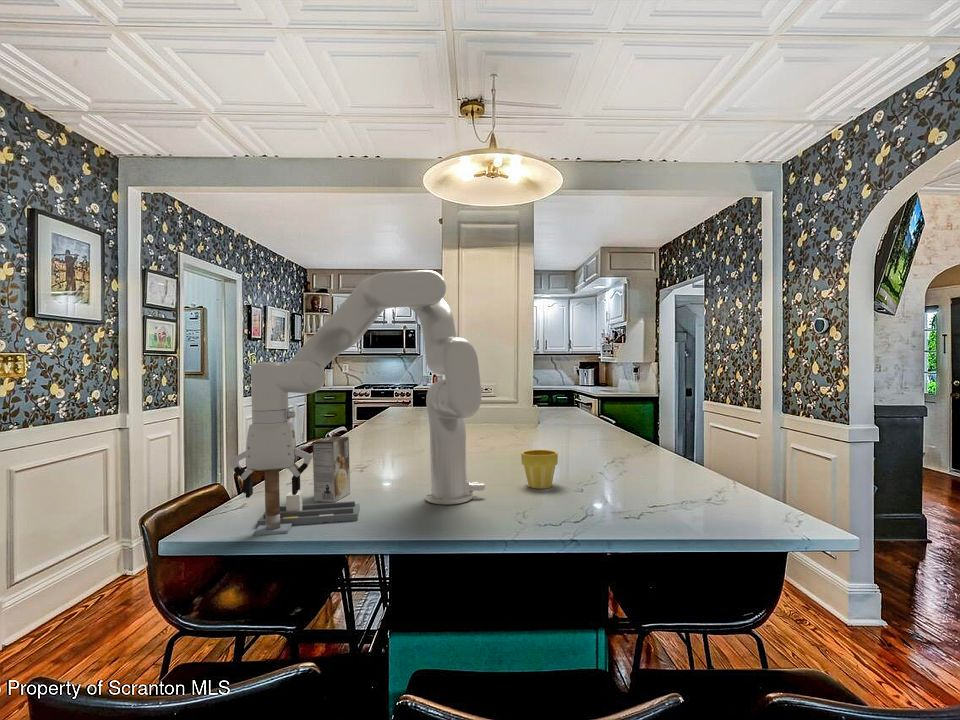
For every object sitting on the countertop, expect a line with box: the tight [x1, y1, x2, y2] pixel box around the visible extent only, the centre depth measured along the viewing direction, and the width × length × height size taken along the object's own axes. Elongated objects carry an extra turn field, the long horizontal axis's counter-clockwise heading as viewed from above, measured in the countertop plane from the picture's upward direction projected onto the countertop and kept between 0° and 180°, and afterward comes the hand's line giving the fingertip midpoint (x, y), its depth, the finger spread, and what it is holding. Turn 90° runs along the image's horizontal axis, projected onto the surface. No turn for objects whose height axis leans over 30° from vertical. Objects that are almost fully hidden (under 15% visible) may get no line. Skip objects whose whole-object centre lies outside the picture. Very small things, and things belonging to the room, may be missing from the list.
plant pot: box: [520, 449, 559, 490], centre depth 151 cm, size 10×10×10 cm
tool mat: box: [253, 523, 293, 536], centre depth 116 cm, size 7×5×1 cm
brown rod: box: [264, 469, 281, 530], centre depth 116 cm, size 3×3×14 cm
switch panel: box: [256, 500, 360, 527], centre depth 125 cm, size 22×9×2 cm, turn 100°
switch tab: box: [285, 490, 303, 512], centre depth 124 cm, size 3×4×4 cm
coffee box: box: [311, 436, 351, 503], centre depth 143 cm, size 9×6×16 cm
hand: (272, 494), depth 116 cm, fingers open, 9 cm apart
